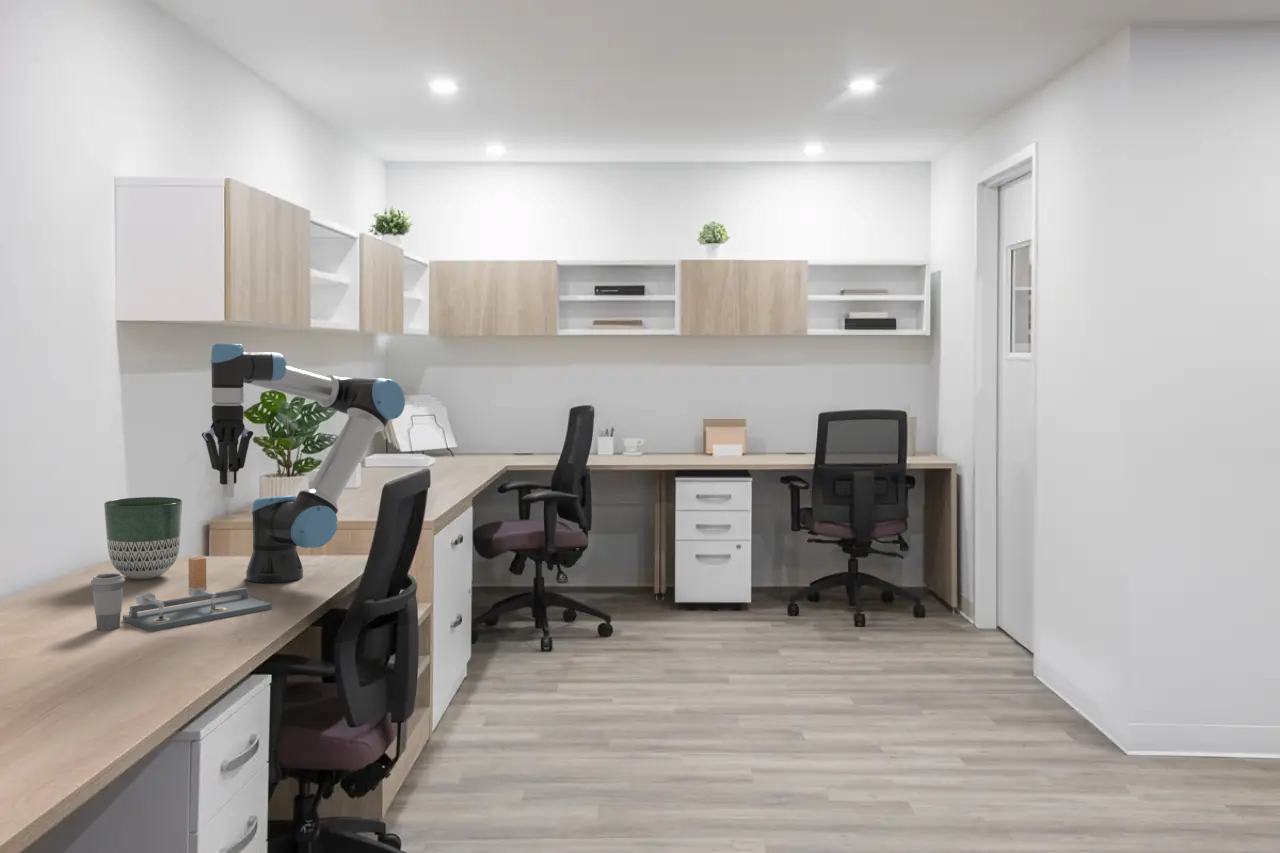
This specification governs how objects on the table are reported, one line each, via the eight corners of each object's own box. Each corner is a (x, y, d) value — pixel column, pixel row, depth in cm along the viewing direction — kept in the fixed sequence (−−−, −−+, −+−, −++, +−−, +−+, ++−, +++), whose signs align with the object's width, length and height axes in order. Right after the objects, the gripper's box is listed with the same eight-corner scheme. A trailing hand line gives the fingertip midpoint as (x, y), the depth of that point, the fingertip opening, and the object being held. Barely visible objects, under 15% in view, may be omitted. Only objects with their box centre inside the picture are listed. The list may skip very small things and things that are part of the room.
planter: (175, 584, 283) (174, 505, 282) (97, 586, 279) (96, 507, 277) (188, 569, 302) (187, 496, 301) (115, 571, 297) (114, 497, 296)
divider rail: (243, 596, 266) (243, 577, 265) (264, 602, 260) (263, 583, 259) (127, 616, 243) (127, 596, 243) (146, 623, 237) (146, 603, 237)
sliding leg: (200, 602, 257) (200, 556, 256) (220, 608, 251) (219, 562, 250) (188, 604, 254) (188, 558, 254) (208, 610, 248) (207, 563, 248)
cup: (113, 622, 242) (112, 571, 241) (132, 626, 239) (131, 574, 238) (84, 629, 236) (83, 576, 235) (103, 633, 233) (102, 580, 232)
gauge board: (242, 599, 267) (242, 594, 267) (272, 608, 258) (272, 603, 258) (122, 620, 244) (122, 615, 244) (151, 631, 235) (150, 625, 235)
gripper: (243, 403, 272) (244, 493, 273) (195, 404, 262) (196, 497, 263) (259, 404, 267) (259, 496, 268) (210, 405, 257) (211, 500, 258)
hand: (228, 496), depth 266 cm, fingers closed
